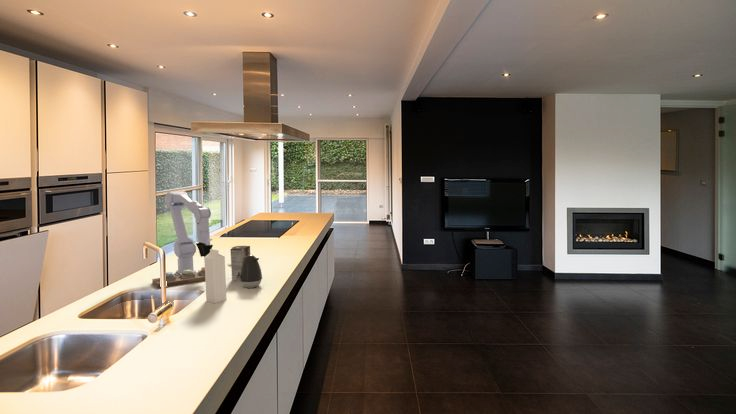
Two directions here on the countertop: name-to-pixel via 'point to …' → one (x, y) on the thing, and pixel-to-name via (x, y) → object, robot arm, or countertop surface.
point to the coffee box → (238, 260)
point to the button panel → (181, 279)
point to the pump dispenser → (250, 272)
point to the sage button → (187, 272)
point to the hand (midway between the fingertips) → (204, 257)
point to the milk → (215, 277)
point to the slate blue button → (169, 274)
